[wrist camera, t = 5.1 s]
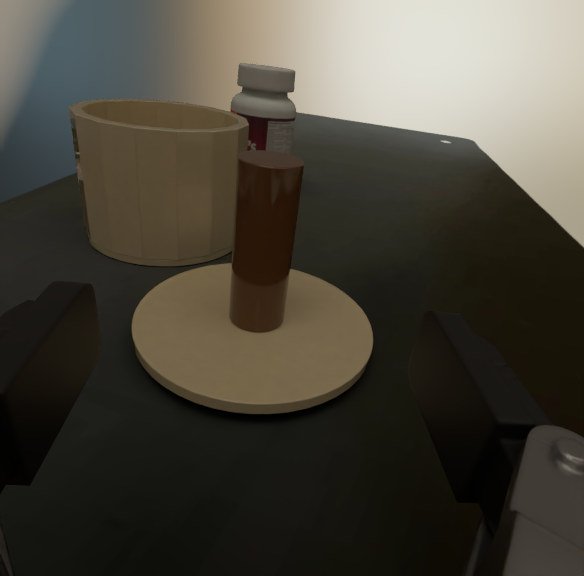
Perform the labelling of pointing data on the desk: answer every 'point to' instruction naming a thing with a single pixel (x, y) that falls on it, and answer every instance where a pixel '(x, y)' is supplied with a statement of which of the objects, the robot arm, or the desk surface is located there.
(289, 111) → the pill bottle
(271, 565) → the desk surface
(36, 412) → the robot arm
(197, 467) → the desk surface
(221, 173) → the canister
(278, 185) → the lid
